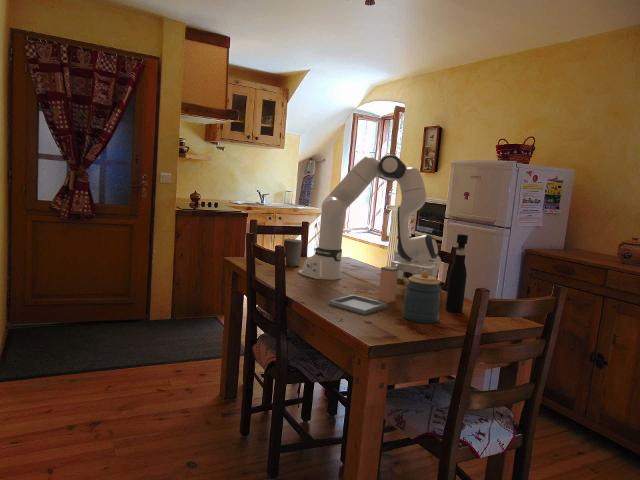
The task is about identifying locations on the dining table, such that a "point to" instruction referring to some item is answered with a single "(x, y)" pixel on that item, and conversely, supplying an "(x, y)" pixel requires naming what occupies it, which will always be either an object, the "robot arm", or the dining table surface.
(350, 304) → the tray
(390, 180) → the robot arm
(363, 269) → the dining table surface
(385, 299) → the tea tin
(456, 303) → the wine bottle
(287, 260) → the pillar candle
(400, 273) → the syrup box
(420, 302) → the canister
